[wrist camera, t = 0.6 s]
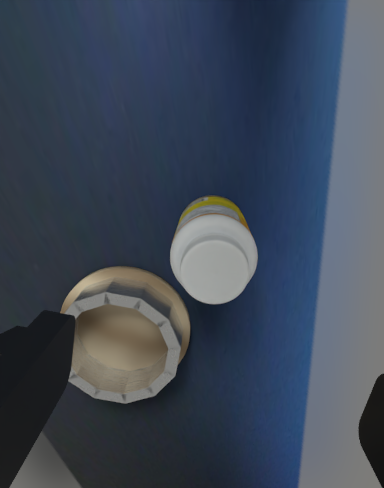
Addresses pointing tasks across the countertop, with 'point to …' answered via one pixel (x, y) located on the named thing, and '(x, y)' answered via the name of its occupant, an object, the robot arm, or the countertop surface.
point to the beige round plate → (126, 323)
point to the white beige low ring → (117, 380)
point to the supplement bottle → (213, 250)
